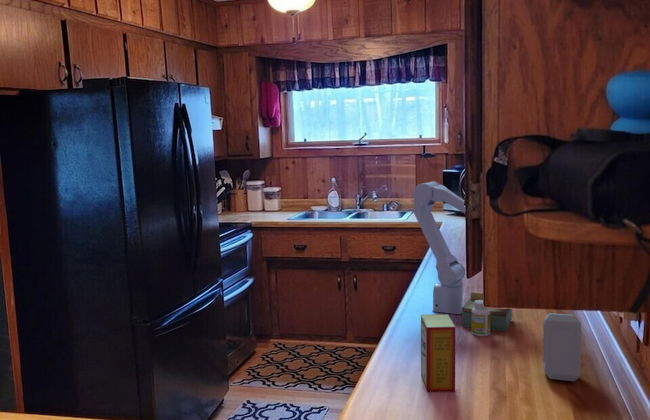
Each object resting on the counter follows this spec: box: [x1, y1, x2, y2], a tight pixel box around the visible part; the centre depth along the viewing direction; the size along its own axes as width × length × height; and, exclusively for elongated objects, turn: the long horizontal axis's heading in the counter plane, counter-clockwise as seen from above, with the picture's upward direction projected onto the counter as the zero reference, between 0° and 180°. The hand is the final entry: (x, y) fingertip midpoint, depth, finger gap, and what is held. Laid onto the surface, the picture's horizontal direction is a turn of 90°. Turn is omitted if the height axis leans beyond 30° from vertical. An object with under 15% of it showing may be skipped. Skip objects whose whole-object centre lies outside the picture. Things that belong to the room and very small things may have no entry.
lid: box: [462, 290, 510, 316], centre depth 183 cm, size 13×11×4 cm
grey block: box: [542, 312, 582, 382], centre depth 152 cm, size 15×8×30 cm
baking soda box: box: [420, 313, 456, 393], centre depth 140 cm, size 10×6×16 cm
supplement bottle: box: [471, 300, 491, 337], centre depth 174 cm, size 5×5×10 cm
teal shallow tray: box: [461, 308, 513, 332], centre depth 183 cm, size 13×11×4 cm
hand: (495, 296), depth 189 cm, fingers closed
